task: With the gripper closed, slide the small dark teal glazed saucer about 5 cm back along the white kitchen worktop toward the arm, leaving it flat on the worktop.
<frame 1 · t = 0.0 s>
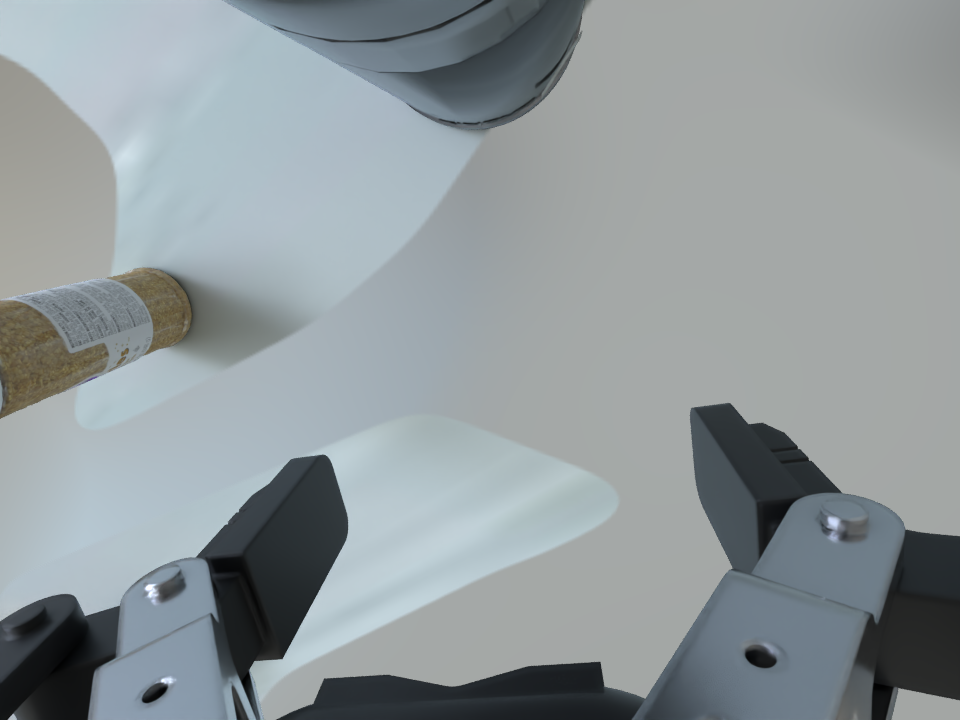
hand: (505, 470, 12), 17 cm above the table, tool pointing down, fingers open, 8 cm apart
sprinkles bottle: (159, 305, 31), on the table
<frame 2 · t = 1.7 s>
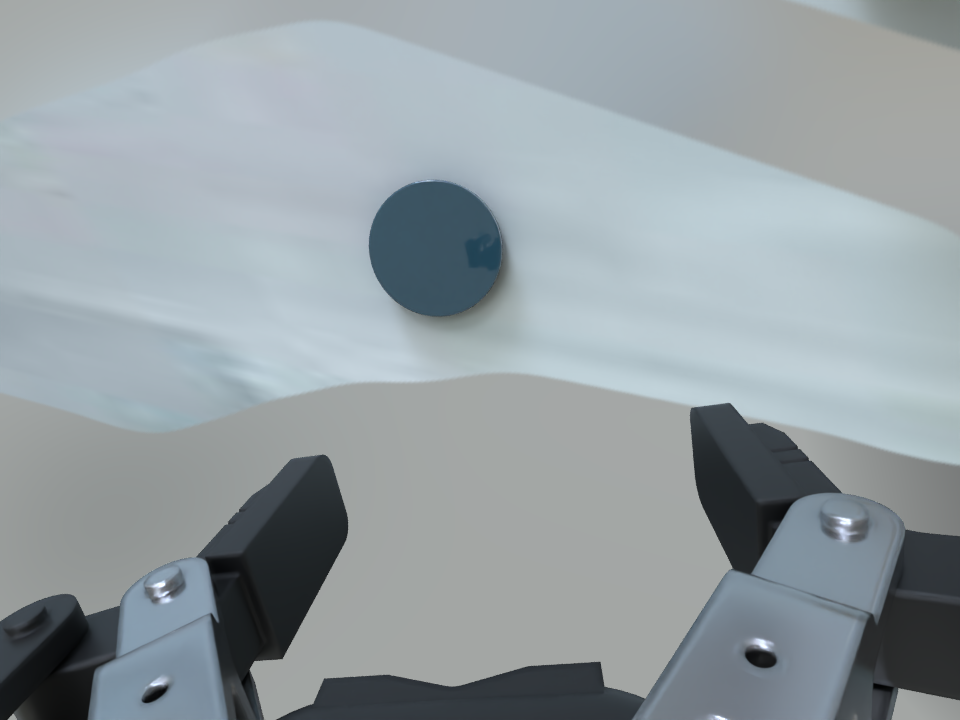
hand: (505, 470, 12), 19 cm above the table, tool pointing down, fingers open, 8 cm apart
plate: (438, 248, 29), on the table
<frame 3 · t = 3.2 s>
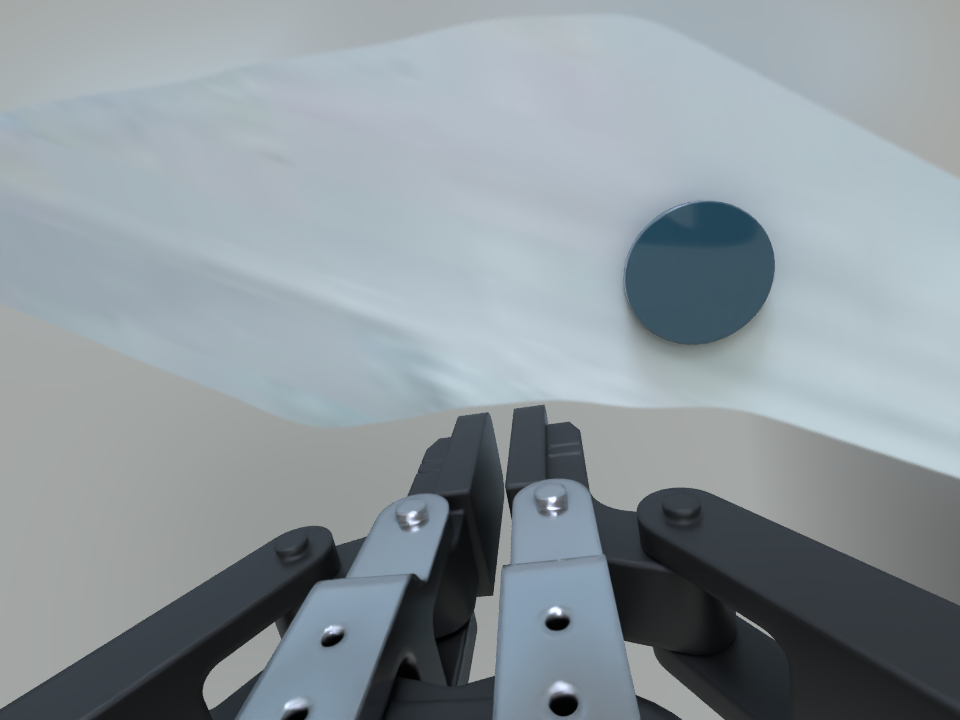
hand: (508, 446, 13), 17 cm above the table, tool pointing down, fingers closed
plate: (692, 271, 28), on the table
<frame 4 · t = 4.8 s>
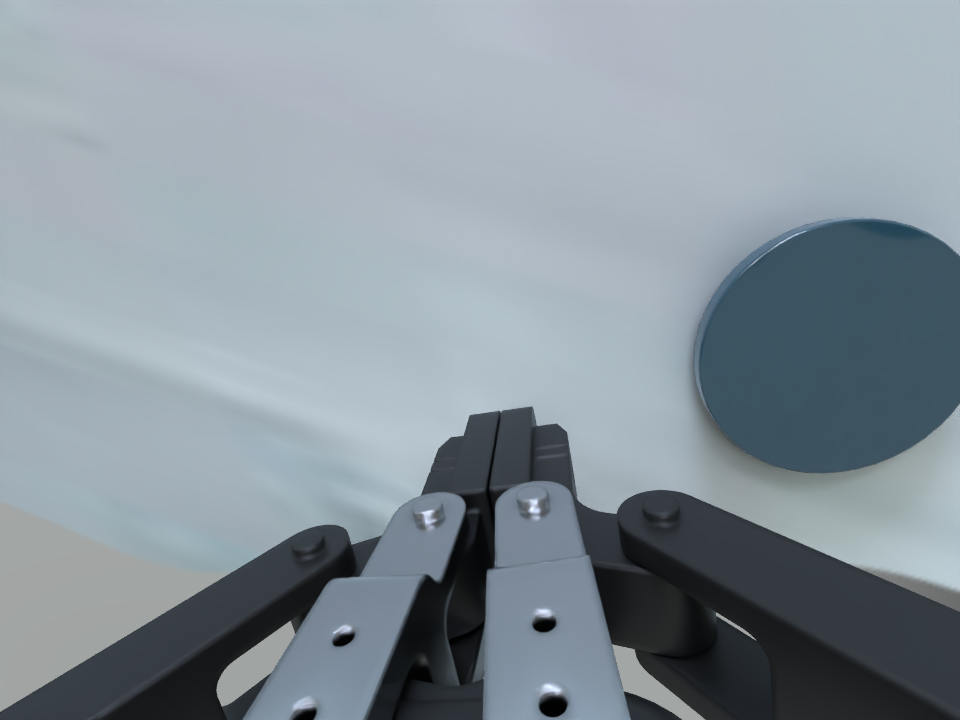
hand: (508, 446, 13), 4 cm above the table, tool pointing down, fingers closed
plate: (816, 343, 16), on the table
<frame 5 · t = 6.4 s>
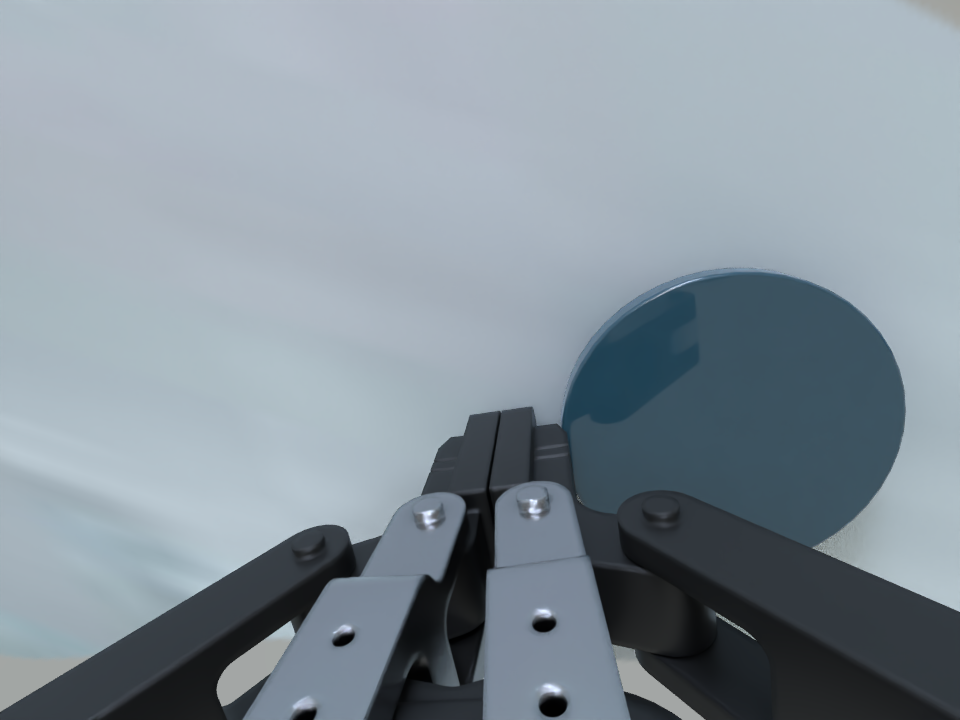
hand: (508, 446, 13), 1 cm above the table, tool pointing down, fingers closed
plate: (710, 413, 13), on the table, touching gripper
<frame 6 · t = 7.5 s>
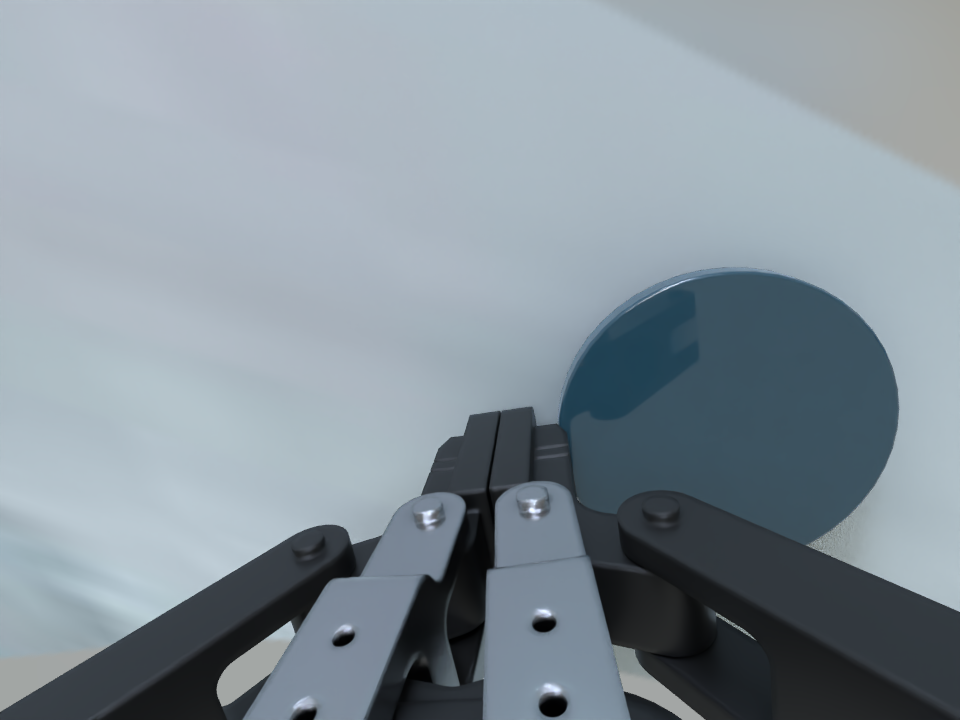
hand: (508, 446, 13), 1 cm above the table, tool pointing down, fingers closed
plate: (706, 411, 13), on the table, touching gripper
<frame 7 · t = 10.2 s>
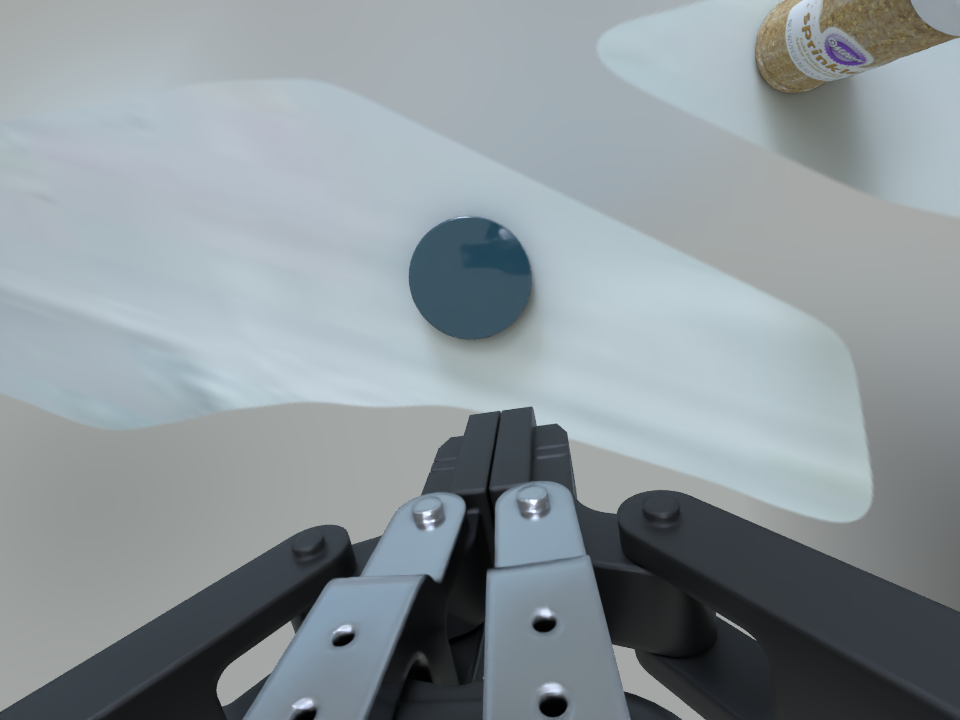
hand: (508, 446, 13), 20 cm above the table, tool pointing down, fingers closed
sprinkles bottle: (798, 46, 28), on the table
plate: (471, 276, 32), on the table
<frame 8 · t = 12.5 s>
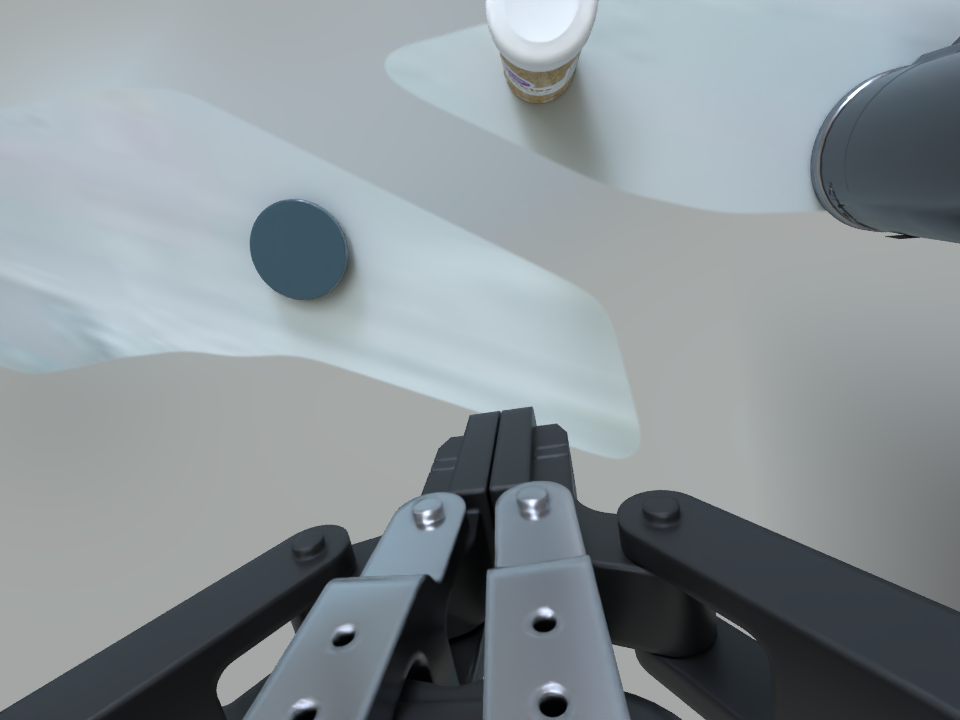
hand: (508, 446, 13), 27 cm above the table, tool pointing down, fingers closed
sprinkles bottle: (540, 66, 35), on the table
plate: (304, 249, 40), on the table
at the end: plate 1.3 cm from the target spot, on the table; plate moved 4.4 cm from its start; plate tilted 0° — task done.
